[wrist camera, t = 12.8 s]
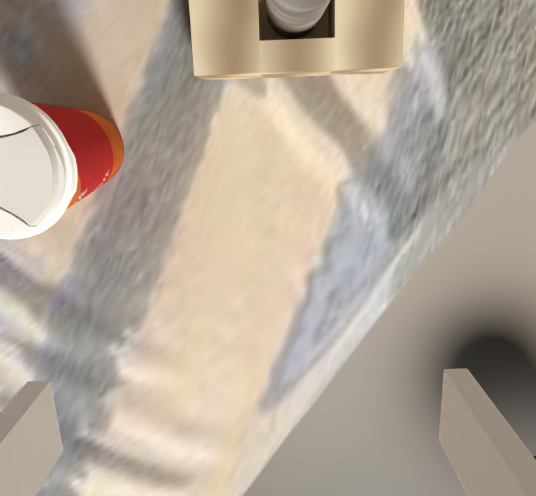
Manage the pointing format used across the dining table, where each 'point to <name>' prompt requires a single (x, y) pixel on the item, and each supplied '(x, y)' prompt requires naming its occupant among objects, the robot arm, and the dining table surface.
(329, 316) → the dining table surface
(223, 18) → the bore block
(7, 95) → the coffee cup
